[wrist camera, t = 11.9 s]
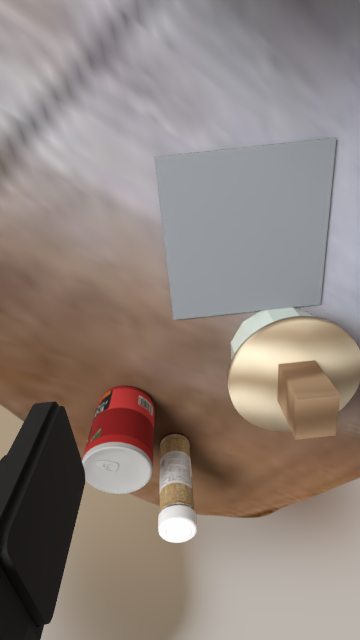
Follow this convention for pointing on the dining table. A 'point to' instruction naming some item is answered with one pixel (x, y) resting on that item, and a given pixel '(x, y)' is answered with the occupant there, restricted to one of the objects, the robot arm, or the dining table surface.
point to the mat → (246, 226)
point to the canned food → (120, 441)
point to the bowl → (262, 323)
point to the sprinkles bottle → (176, 491)
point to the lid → (295, 376)
